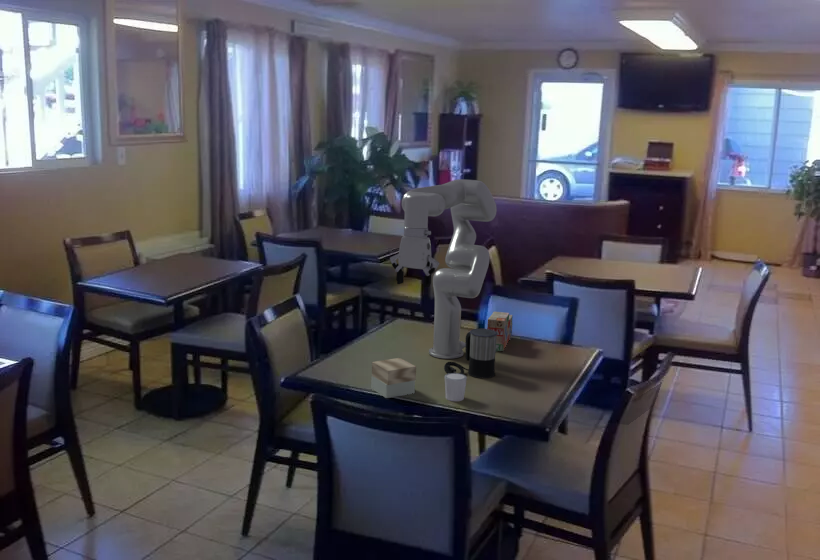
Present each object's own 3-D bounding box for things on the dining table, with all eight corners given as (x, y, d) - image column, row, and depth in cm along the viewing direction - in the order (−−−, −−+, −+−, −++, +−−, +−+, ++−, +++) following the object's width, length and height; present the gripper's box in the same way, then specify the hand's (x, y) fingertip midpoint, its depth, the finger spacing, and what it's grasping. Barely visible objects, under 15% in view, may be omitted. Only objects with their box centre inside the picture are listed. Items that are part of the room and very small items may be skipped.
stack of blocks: (496, 336, 315) (497, 305, 312) (511, 337, 313) (513, 307, 310) (486, 350, 294) (487, 318, 292) (502, 352, 293) (504, 320, 290)
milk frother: (501, 374, 267) (503, 332, 264) (470, 385, 256) (472, 340, 253) (468, 364, 277) (470, 323, 274) (438, 374, 266) (439, 331, 263)
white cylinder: (464, 402, 240) (465, 380, 238) (441, 400, 241) (442, 378, 240) (467, 395, 246) (468, 373, 245) (445, 393, 248) (446, 371, 246)
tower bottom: (398, 384, 255) (399, 371, 254) (414, 394, 247) (414, 380, 246) (371, 388, 250) (371, 375, 249) (386, 398, 242) (386, 384, 241)
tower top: (399, 371, 254) (399, 357, 253) (415, 380, 246) (416, 366, 245) (371, 375, 249) (372, 362, 248) (387, 385, 241) (388, 370, 240)
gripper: (444, 234, 254) (442, 286, 257) (397, 229, 261) (395, 280, 264) (435, 236, 247) (432, 290, 250) (386, 231, 254) (384, 283, 257)
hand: (413, 285), depth 257 cm, fingers open, 9 cm apart
